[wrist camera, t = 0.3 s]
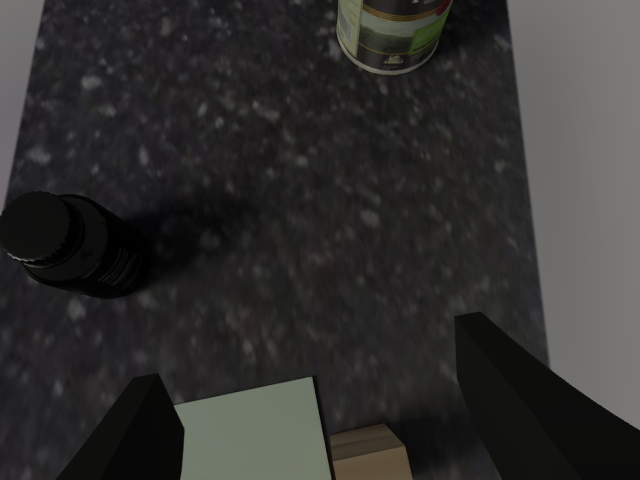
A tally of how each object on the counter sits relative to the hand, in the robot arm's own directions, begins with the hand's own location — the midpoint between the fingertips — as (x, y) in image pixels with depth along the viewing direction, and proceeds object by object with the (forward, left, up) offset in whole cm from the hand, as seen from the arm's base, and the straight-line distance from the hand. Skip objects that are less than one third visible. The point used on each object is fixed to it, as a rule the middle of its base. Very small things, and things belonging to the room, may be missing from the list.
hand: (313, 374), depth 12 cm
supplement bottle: (+12, +16, -30) cm, 36 cm away
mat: (-8, +8, -29) cm, 31 cm away
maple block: (-8, -2, -29) cm, 31 cm away
